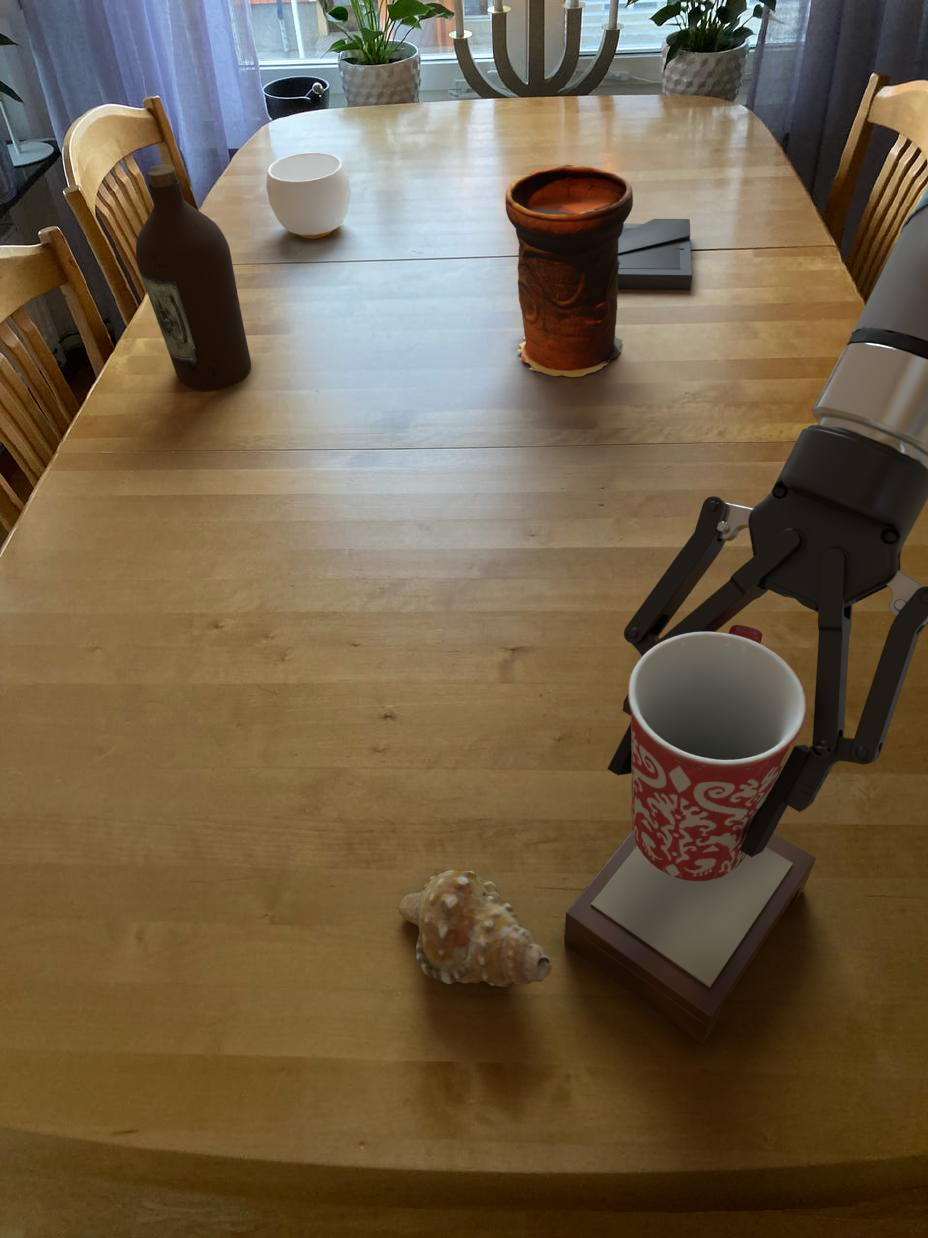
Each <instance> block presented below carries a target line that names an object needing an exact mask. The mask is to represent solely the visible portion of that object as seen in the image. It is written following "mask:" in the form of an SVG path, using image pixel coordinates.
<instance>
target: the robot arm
mask: <svg viewBox="0 0 928 1238" xmlns="http://www.w3.org/2000/svg"><path fill="white" fill-rule="evenodd" d="M899 233H900V234H899V236H898V238H897V240H896V242H895V244H894V246H893V249H892V250H891V253H890V255H889V257H888V259H887V261H886V263H885V265H884V267H883V269H882V272H881V273H880V276H879V277H878V279H877V281H876V283H875V285H874V288H873V290H872V292H871V294H870V296H869V298H868V300H867V301H866V303H865V305H864V307H863V310H862V312H861V314H860V316H859V318H858V320H857V322H856V324H855V325H854V328H853V330H852V332H851V335H850V337H849V339H848V341H847V343H846V345H845V347H844V348H843V350H842V352H841V354H840V355H839V358H838V360H837V361H836V363H835V365H834V366H833V369H832V371H831V373H830V375H829V377H828V379H827V380H826V382H825V384H824V386H823V388H822V390H821V392H820V394H819V396H818V398H817V400H816V402H815V404H814V405H813V407H812V409H811V411H812V415H813V417H814V419H815V420H816V422H817V424H811V425H808V426H807V427H805V428H803V429H801V432H800V433H799V435H798V438H797V440H796V441H795V444H794V445H793V447H792V449H791V451H790V453H789V455H788V457H787V459H786V460H785V463H784V465H783V467H782V469H781V471H780V473H779V474H778V477H777V478H776V481H775V483H774V484H773V487H772V489H771V492H769V494H768V495H767V496H766V497H765V498H764V499H763V500H761V502H759V503H758V504H756V505H755V506H754V507H753V508H751V507H746V506H742V505H739V504H738V505H737V504H733V503H729V502H726V501H725V500H723V499H722V498H721V497H718V496H716V495H711V496H708V497H707V498H705V500H704V501H703V503H702V506H701V509H700V512H699V516H698V519H697V521H696V522H697V523H696V526H695V529H694V531H693V533H692V535H691V536H690V538H688V540H687V541H686V543H685V544H684V546H683V547H682V548H681V550H680V551H679V553H677V555H676V556H675V558H674V559H673V561H672V562H671V564H670V565H669V567H668V568H667V569H666V571H665V572H664V573H663V575H662V576H661V578H660V579H659V580H658V582H657V583H656V585H654V587H653V589H652V590H651V592H650V593H649V594H648V596H647V597H646V598H645V600H644V601H643V602H642V604H641V605H640V607H639V608H638V609H637V611H636V612H635V614H634V615H633V616H632V618H631V619H630V620H629V622H628V623H627V625H626V626H625V627H624V630H623V637H624V639H625V641H626V642H628V643H630V644H631V645H632V646H633V647H634V648H635V650H636V651H637V652H638V653H639V654H640V656H641V657H642V656H643V655H644V654H645V653H646V652H647V651H649V650H650V649H651V648H653V647H654V646H655V645H657V644H659V643H661V642H663V641H665V640H667V639H669V638H672V637H675V636H678V635H682V634H686V633H692V632H718V630H719V629H720V628H722V627H723V626H725V624H727V623H728V622H729V621H730V620H732V619H733V618H734V617H735V616H736V615H738V614H739V613H740V612H742V611H743V610H744V609H745V608H746V607H747V606H749V605H750V604H751V603H752V602H754V601H755V600H757V599H759V598H761V597H762V596H763V595H765V594H766V593H767V592H768V591H769V592H773V593H775V594H777V595H779V596H782V597H783V598H790V599H794V600H796V602H798V603H800V604H801V605H802V606H803V607H806V608H807V609H809V610H812V611H814V612H816V613H817V616H818V617H817V627H818V640H817V641H818V642H817V658H816V659H817V660H816V675H815V677H816V678H815V692H814V711H813V727H812V728H813V729H812V745H809V746H808V745H806V744H799V745H794V747H793V749H792V751H791V752H790V754H789V756H788V758H787V760H786V761H785V762H784V764H783V766H782V768H781V770H780V772H779V775H778V777H777V780H776V782H775V784H774V786H773V788H772V790H771V791H770V793H769V795H768V797H767V799H766V801H765V803H764V805H763V806H762V808H761V810H760V812H759V814H758V816H757V818H756V819H755V821H754V823H753V825H752V827H751V829H750V831H749V833H748V834H747V836H746V838H745V840H744V842H743V844H742V846H741V848H740V849H739V850H740V851H742V852H744V853H745V854H747V855H749V856H750V857H753V856H755V855H757V854H759V853H761V852H763V850H764V849H765V847H766V845H767V843H768V841H769V839H770V837H771V836H772V834H773V833H774V832H775V830H776V828H777V826H778V824H779V822H780V820H781V819H782V818H783V815H784V813H785V811H786V809H787V808H788V807H790V808H791V809H793V810H795V811H797V812H799V813H801V812H802V811H805V810H806V809H808V808H809V807H810V806H811V805H813V803H814V801H815V799H816V797H817V795H818V794H819V792H820V790H821V789H822V787H823V785H824V783H825V781H826V779H827V777H828V776H829V774H830V772H831V770H832V768H833V767H834V766H835V765H836V763H838V762H846V763H847V762H848V763H853V764H858V765H863V766H864V765H869V764H872V763H875V762H876V761H878V759H879V757H881V754H882V751H883V748H884V745H885V744H884V743H885V741H886V738H887V736H888V732H889V729H890V726H891V723H892V719H893V717H894V713H895V710H896V707H897V704H898V701H899V698H900V696H901V693H902V690H903V686H904V684H905V679H906V677H907V674H908V672H909V671H908V670H909V668H910V664H911V661H912V658H913V655H914V652H915V649H916V646H917V643H918V640H919V637H920V635H921V634H922V632H923V631H924V630H925V628H926V627H927V626H928V586H927V585H926V586H924V585H922V584H921V583H920V582H918V581H916V580H915V579H913V578H912V577H910V576H909V575H907V574H906V573H903V571H901V554H902V549H903V548H904V544H905V543H906V541H907V540H908V537H909V535H910V534H911V532H912V530H913V528H914V525H915V524H916V522H917V520H918V518H919V517H920V516H921V515H920V514H921V513H922V511H923V509H924V507H925V505H926V504H927V502H928V187H927V188H926V190H925V191H924V193H923V195H922V197H921V198H920V201H919V202H918V204H917V205H916V207H915V209H914V210H912V211H910V213H909V215H908V217H907V218H906V220H904V222H903V224H902V226H901V229H900V232H899ZM744 529H748V531H749V538H750V544H751V550H752V557H751V558H750V559H749V560H748V561H746V562H745V563H744V564H743V565H742V566H741V567H739V569H737V570H736V571H734V572H733V573H732V574H731V576H730V578H729V579H728V581H726V582H725V583H724V584H723V585H721V586H720V588H718V589H717V590H716V591H715V592H714V593H712V594H711V595H710V596H709V597H708V598H706V599H705V600H704V601H703V602H702V603H700V604H699V605H698V606H697V607H696V608H694V609H693V610H692V611H691V612H690V613H689V614H687V616H685V617H684V618H683V619H682V620H680V621H679V622H678V623H677V624H675V626H673V627H672V628H671V629H670V630H668V632H666V633H665V634H664V635H663V636H662V637H659V636H660V635H661V634H662V633H663V631H664V630H665V628H666V627H667V626H668V624H669V623H670V621H671V620H672V619H673V617H674V616H675V615H676V613H677V612H678V610H679V609H680V607H682V605H683V604H684V602H685V601H686V600H687V599H688V597H689V596H690V594H691V593H692V591H693V590H694V589H695V587H696V586H697V584H698V583H699V582H700V581H701V579H702V578H703V576H704V575H705V574H706V572H707V571H708V570H709V568H710V567H711V565H712V564H713V562H715V560H716V558H717V557H718V555H719V554H720V552H721V551H722V549H723V548H724V545H725V543H726V542H732V541H733V540H735V539H736V538H737V537H738V535H739V534H740V532H742V531H743V530H744ZM886 588H889V589H890V591H891V598H890V601H889V604H888V609H889V611H890V613H891V614H892V615H893V616H894V617H895V618H894V619H893V621H892V623H891V625H890V627H889V630H888V633H887V636H886V639H885V642H884V645H883V647H882V651H881V654H880V657H879V661H878V664H877V666H876V670H875V673H874V675H873V678H872V681H871V685H870V688H869V691H868V695H867V697H866V701H865V703H864V707H863V710H862V712H861V716H860V719H859V722H858V726H857V728H856V731H855V735H854V737H853V738H852V737H845V721H846V706H847V705H846V703H847V688H848V687H847V685H848V668H849V652H850V651H849V650H850V636H851V633H852V624H853V623H852V622H853V621H852V620H853V606H854V604H857V603H858V602H861V601H862V600H865V599H866V598H869V597H870V596H872V595H874V594H876V593H878V592H880V591H882V590H884V589H886ZM622 712H624V713H625V714H627V715H628V716H631V710H630V706H629V702H628V693H627V694H626V696H625V698H624V700H623V704H622ZM631 764H632V749H631V722H630V723H629V725H628V727H627V729H626V731H625V733H624V735H623V737H622V738H621V740H620V742H619V745H618V747H617V749H616V751H615V752H614V755H613V757H612V759H611V761H610V763H609V765H608V766H607V770H608V771H610V772H611V773H613V774H614V775H617V776H624V775H630V774H631V775H632V765H631Z"/></svg>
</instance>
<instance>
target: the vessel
mask: <svg viewBox="0 0 928 1238" xmlns="http://www.w3.org/2000/svg"><path fill="white" fill-rule="evenodd" d="M633 193H634V192H633V187H632V185H631V184H630V183H629V181H627V180H626V179H625V178H623V177H622V176H620V175H618V174H617V173H614V172H610V171H607V170H603V169H599V168H596V167H592V166H584V165H572V164H571V165H570V164H567V165H566V164H565V165H559V166H558V165H557V166H552V167H549V168H545V169H540V170H534V171H533V172H530V173H529V174H526V175H523V176H520V177H519V178H517V179H515V180H514V181H513V182H511V184H510V185H509V186H508V187H507V189H506V193H505V197H504V198H505V199H504V200H505V203H504V204H505V212H506V215H507V218H508V221H509V222H510V223H511V225H512V226H513V227H514V229H515V234H516V238H517V241H518V261H517V274H518V275H517V276H518V278H517V290H518V302H519V307H520V311H521V317H522V325H523V332H524V336H523V337H522V339H523V340H524V341H523V342H521V343H519V344H518V345H519V347H520V348H518V349H517V352H518V353H521V355H520V358H521V360H522V361H523V363H526V364H528V365H530V367H528V369H529V370H531V371H534V372H541V373H542V374H546V375H549V376H553V377H558V376H559V377H560V376H565V377H567V378H577V377H584V376H585V375H587V374H592V373H595V372H597V371H599V370H601V369H603V368H604V366H607V365H608V364H609V361H612V360H613V359H614V358H615V359H616V358H618V357H619V353H620V352H621V350H622V349H623V348H621V346H622V342H623V340H622V339H621V338H618V337H617V336H616V326H617V312H618V294H619V289H618V270H619V262H618V240H619V237H620V236H621V234H622V231H623V228H624V223H625V222H626V220H627V219H628V218H629V216H630V214H631V212H632V211H633V210H632V209H633V206H634V205H633V204H634V195H633Z"/></svg>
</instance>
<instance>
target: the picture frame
mask: <svg viewBox="0 0 928 1238" xmlns="http://www.w3.org/2000/svg"><path fill="white" fill-rule="evenodd" d="M618 262H619V270H618V290H623V289H624V290H671V291H672V290H675V291H676V290H677V291H678V290H679V291H680V290H682V291H691V287H692V279H693V266H692V250H691V219H690V218H653V219H651V220H648V221H646V222H644V223H625V222H624V228H623V231H622V234H621V236H620V237H619V240H618Z"/></svg>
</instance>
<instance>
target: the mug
mask: <svg viewBox="0 0 928 1238" xmlns="http://www.w3.org/2000/svg"><path fill="white" fill-rule="evenodd" d="M762 639H763V633H762V631H761V630H760V629H758V628H755V627H752V626H746V625H743V624H734V625H732V626H731V627H730V629H729V631H728V632H727V633H726V632H718V631H716V632H692V633H686V634H682V635H678V636H675V637H672V638H669V639H667V640H665V641H663V642H661V643H659V644H657V645H655V646H654V647H653V648H651V649H650V650H649V651H647V652H646V653H645V654H644V655H643V656H641V657H640V658H639V660H637V662H636V663H635V665H634V667H633V669H632V672H631V673H630V677H629V679H628V685H627V694H628V702H629V706H630V710H631V715H630V719H631V720H630V723H631V749H632V764H631V765H632V773H631V806H630V807H631V809H630V810H631V827H632V831H633V834H634V838H635V841H636V844H637V846H638V848H639V849H640V851H641V852H642V854H643V855H644V856H645V857H646V859H647V860H648V861H649V862H650V863H652V864H653V865H654V866H655V867H656V868H658V869H659V870H661V871H663V872H664V873H667V874H668V875H670V876H672V877H676V878H679V879H683V880H688V881H708V880H712V879H717V878H720V877H723V876H724V875H726V874H728V873H729V872H731V871H733V870H734V869H735V868H736V867H737V866H738V865H739V864H740V863H741V862H742V861H743V859H744V858H745V856H746V854H745V853H744V852H742V851H740V850H739V849H740V848H741V846H742V844H743V842H744V840H745V838H746V836H747V834H748V833H749V831H750V829H751V827H752V825H753V823H754V821H755V819H756V818H757V816H758V814H759V812H760V810H761V808H762V806H763V805H764V803H765V801H766V799H767V797H768V795H769V793H770V791H771V790H772V788H773V786H774V784H775V782H776V780H777V778H778V777H779V775H780V773H781V771H782V769H783V767H784V764H785V761H786V758H787V756H788V753H789V750H790V748H791V745H792V744H793V743H794V741H795V740H796V739H797V738H798V736H799V734H800V733H801V731H802V730H803V727H804V724H805V720H806V718H807V711H808V710H807V709H808V706H807V705H808V703H807V697H806V692H805V688H804V687H803V684H802V682H801V680H800V677H799V676H798V674H797V673H796V671H795V670H794V669H793V667H792V666H791V665H790V664H789V663H788V662H787V661H786V660H785V659H784V658H782V656H780V655H779V654H777V653H776V652H775V651H773V650H771V649H770V648H769V647H768V646H767V647H766V646H765V645H763V644H762Z"/></svg>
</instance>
